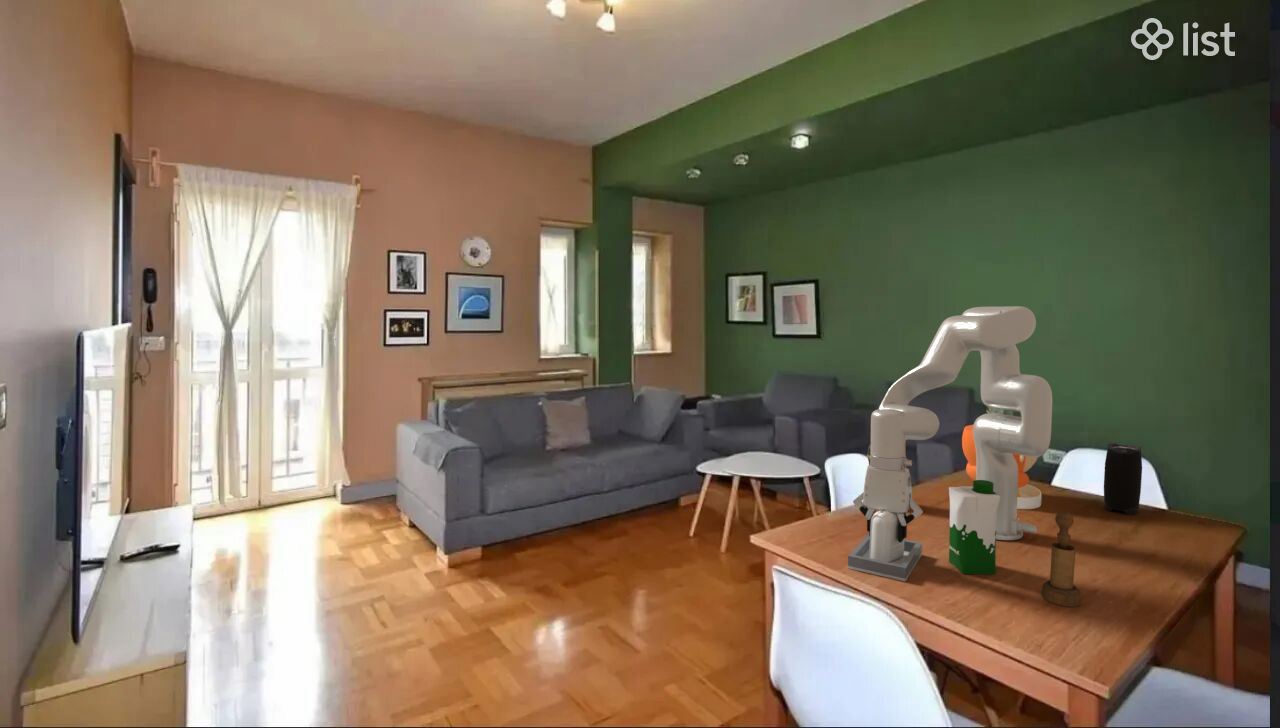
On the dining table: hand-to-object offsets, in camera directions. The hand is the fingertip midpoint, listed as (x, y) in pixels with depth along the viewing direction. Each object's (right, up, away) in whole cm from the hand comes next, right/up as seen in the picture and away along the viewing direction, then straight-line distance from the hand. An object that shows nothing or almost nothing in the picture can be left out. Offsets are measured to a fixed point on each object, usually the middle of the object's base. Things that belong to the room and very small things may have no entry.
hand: (886, 536), depth 142 cm
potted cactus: (+54, -1, +46) cm, 71 cm away
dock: (0, -6, 0) cm, 6 cm away
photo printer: (0, -5, 0) cm, 5 cm away
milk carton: (+18, -6, -4) cm, 19 cm away
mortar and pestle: (+28, -7, -19) cm, 34 cm away
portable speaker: (+81, -2, +33) cm, 88 cm away
